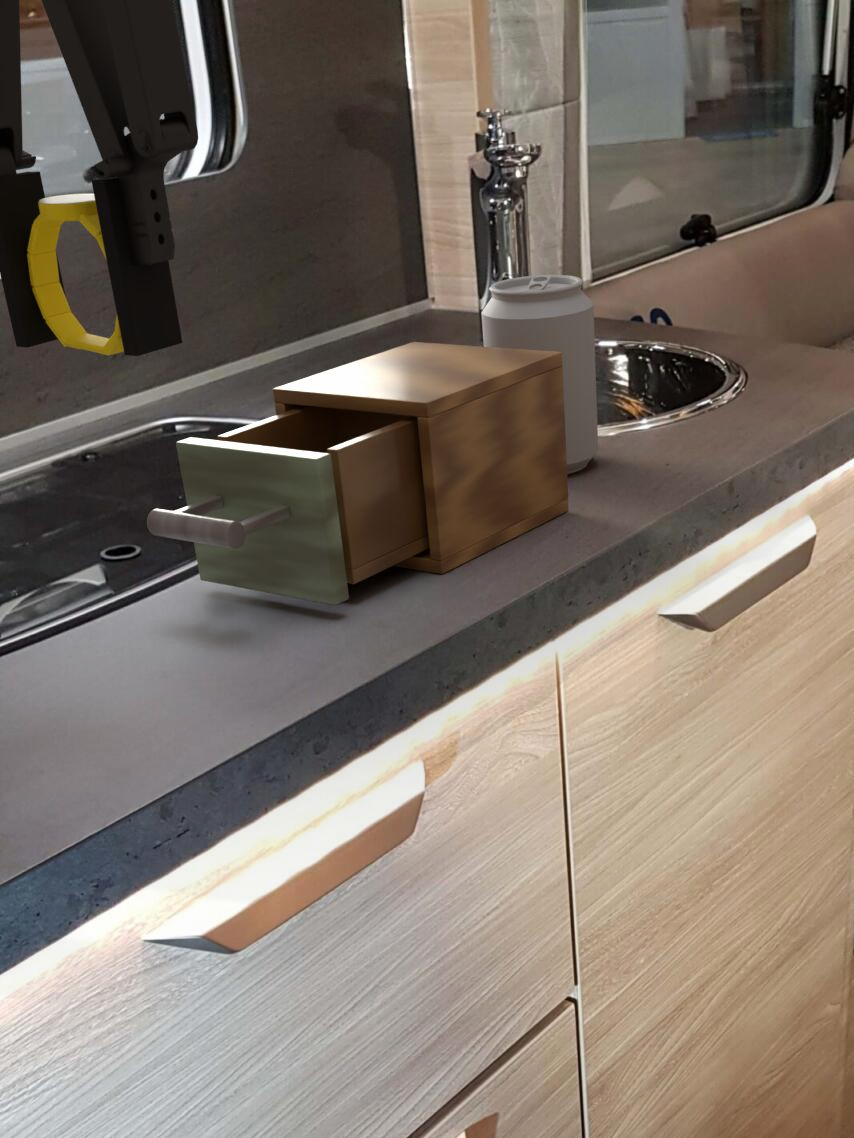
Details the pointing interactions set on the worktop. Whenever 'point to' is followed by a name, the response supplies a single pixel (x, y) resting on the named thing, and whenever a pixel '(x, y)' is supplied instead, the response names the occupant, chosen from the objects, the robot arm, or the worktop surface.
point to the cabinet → (464, 436)
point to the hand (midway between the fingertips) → (98, 343)
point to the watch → (46, 270)
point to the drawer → (302, 501)
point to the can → (552, 345)
